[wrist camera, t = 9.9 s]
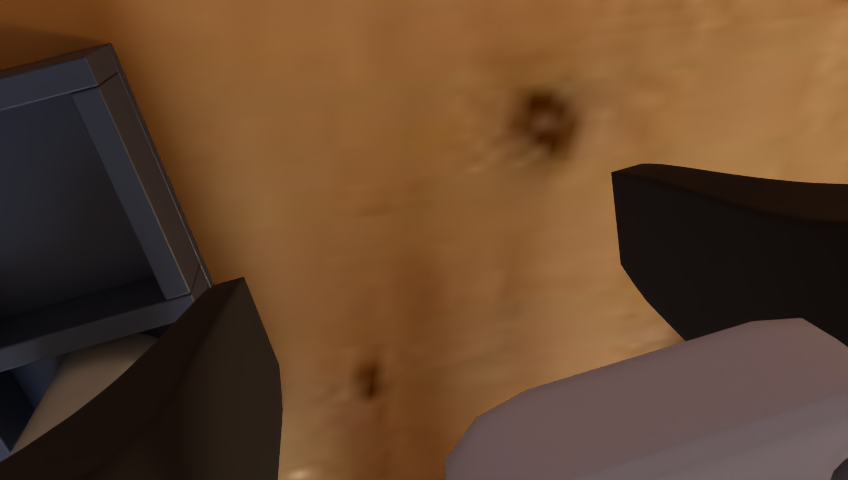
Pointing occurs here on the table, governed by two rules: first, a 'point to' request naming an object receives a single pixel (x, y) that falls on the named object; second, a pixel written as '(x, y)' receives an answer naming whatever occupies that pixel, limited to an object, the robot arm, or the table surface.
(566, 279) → the table surface
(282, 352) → the table surface
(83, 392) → the cream cup
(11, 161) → the cup holder
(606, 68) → the table surface
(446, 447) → the table surface
